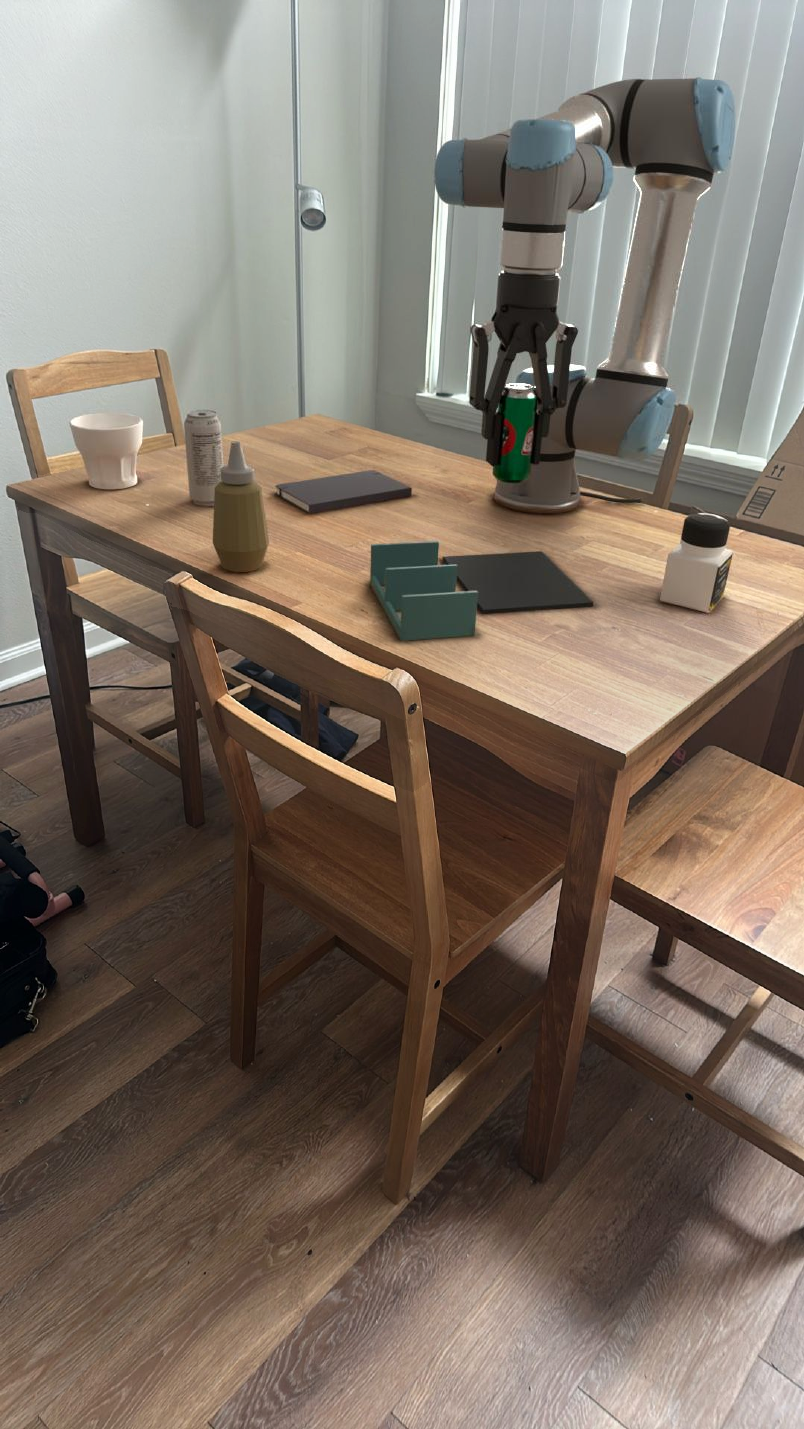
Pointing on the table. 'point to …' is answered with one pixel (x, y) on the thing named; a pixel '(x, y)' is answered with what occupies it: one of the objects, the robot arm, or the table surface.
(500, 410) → the soda can
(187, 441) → the energy drink can
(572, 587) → the mat
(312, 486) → the notebook
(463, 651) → the table surface
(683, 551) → the medicine bottle
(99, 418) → the cup
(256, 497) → the squeeze bottle
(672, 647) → the table surface
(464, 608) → the frame
